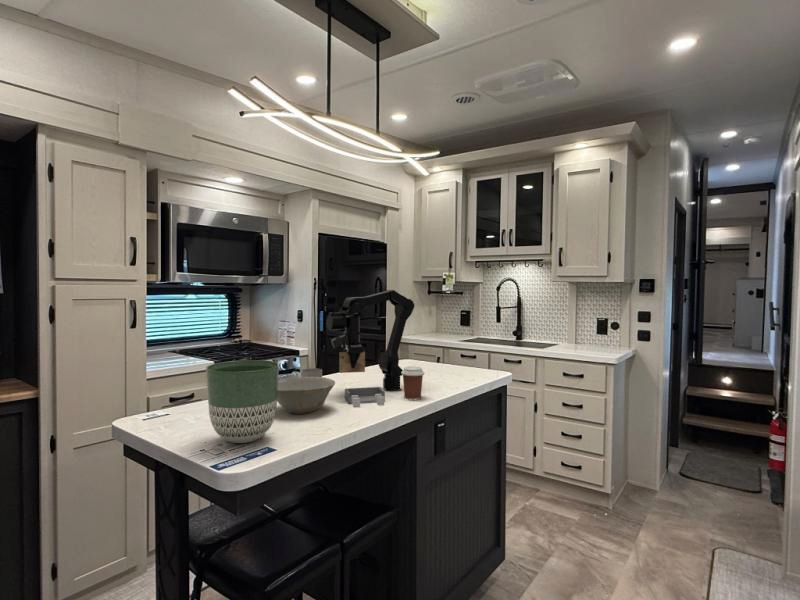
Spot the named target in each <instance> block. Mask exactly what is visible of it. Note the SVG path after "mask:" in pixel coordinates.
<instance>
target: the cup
mask: <svg viewBox="0 0 800 600" xmlns="http://www.w3.org/2000/svg"><path fill="white" fill-rule="evenodd" d="M300 377H322V378H323V369H321V368H312V367H311V368H303V369H301V370H300Z"/></svg>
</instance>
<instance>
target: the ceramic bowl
mask: <svg viewBox="0 0 800 600" xmlns="http://www.w3.org/2000/svg"><path fill="white" fill-rule="evenodd" d="M335 384H336V381H335V380H333V379H332V378H329V377H324V376H322V377H301V376H293V377H292V376H291V377H286V378H285V377H284V378H280V379H279V378H278V392H277V403H278V404H279V405H280V406H281V407H283V408H284V409H285V410H286V411H287V412H289V413H291V414H295V415H298V414H299V415H304V414H307V413H310V412H314V411H316V410H318V409H320V408H321V407H322V406H324V404H325V401H326V400H327V397H328V396H329V394H330V392H331V390H332V389H333V388H334V386H335Z"/></svg>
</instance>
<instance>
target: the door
mask: <svg viewBox="0 0 800 600" xmlns="http://www.w3.org/2000/svg"><path fill="white" fill-rule="evenodd" d="M338 370H339V373H340V374H343V373H344V374H347V373H365V372H366V352H365V351H364V352H363V353H361V354H360V356H359V358H358V360H357V363H356V365H355V367H354V368H351V363H350V356H349V354H348V353H347V352H345V351H339V369H338Z"/></svg>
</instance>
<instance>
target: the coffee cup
mask: <svg viewBox="0 0 800 600" xmlns="http://www.w3.org/2000/svg"><path fill="white" fill-rule="evenodd" d="M402 370H403V371H402V372H401V374H402V380H403V393H404V399H405V398H406V399H405V400H407V399H412V400H411V401H414V400H413V399H419V400H421V399H422V389H423V388H422V387H423V377H424V375H425V371H424V370H423V368H422V367H421V366H416V365H415V366H414V365H413V366H411V365H410V366H404V368H403V369H402ZM420 398H421V399H420Z"/></svg>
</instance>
